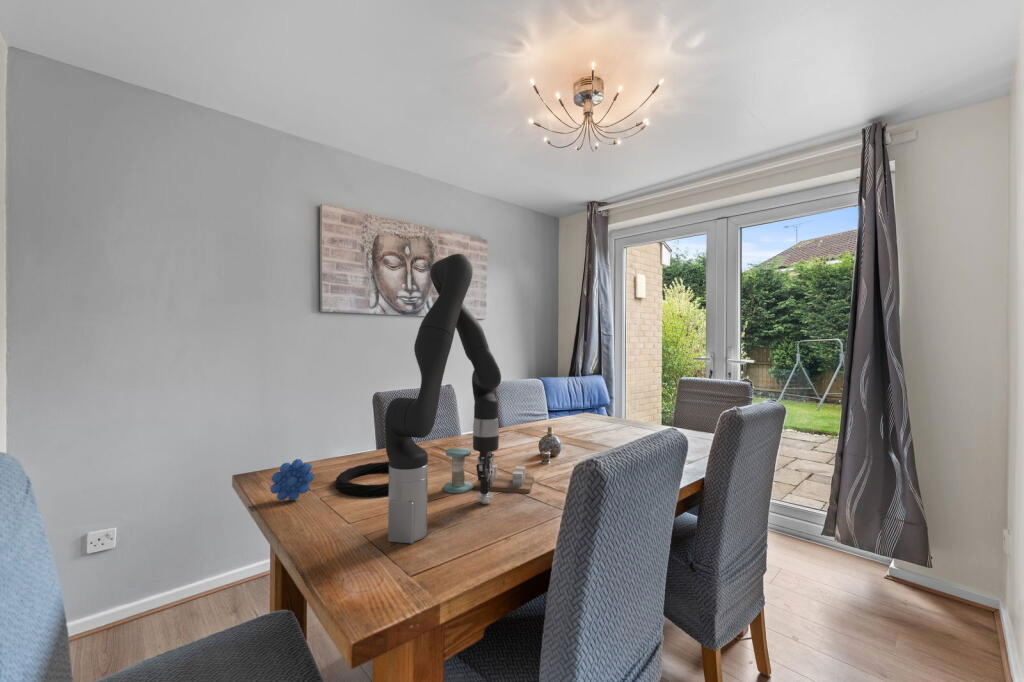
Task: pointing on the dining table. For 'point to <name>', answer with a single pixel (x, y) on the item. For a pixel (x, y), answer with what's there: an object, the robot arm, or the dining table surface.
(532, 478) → the notch board
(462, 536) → the dining table surface
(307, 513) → the dining table surface
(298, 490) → the blue flower
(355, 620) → the dining table surface
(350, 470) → the cable lock
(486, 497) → the screw
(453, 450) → the bobbin
